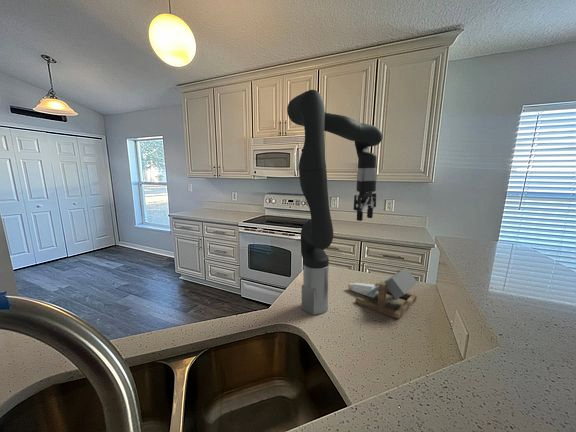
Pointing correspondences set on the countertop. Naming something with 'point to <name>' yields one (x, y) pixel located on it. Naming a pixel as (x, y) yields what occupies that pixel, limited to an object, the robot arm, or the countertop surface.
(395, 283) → the trapdoor
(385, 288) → the wooden frame stand
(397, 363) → the countertop surface
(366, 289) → the pepper shaker
